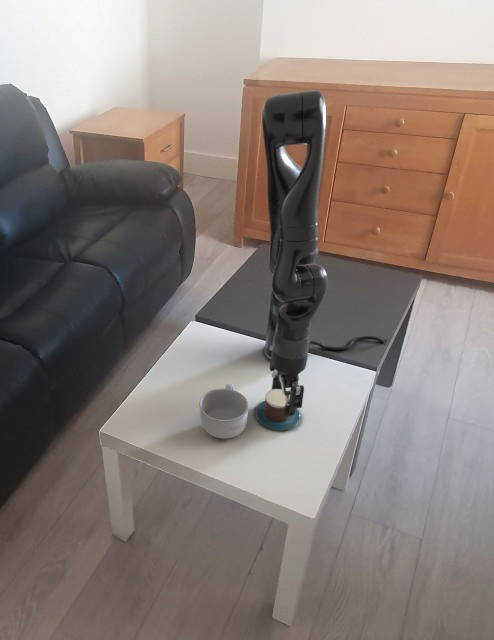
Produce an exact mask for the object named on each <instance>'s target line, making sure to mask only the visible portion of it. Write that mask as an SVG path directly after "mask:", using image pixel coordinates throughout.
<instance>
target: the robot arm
mask: <svg viewBox="0 0 494 640" xmlns="http://www.w3.org/2000/svg"><path fill="white" fill-rule="evenodd" d="M261 125H262V126H261V129H262V136H263V144H264V152H265V153H264V154H265V160H266V161H265V162H266V171H267V172H266V173H267V175H266V177H267V179H266V180H267V183H266V184H267V186H266V187H267V188H266V189H267V191H266V192H267V194H266V195H267V211H268V220H269V248H268V268H269V271H270V272H271V274H272V277H271V278H272V279H271V289H272V290H271V295H270V303H269V312H268V321H267V329H266V337H265V345H264V355H265V357H266V358H267V359H268V360H270V362H269V371H270V372H272V373H271V378H272V384H271V390H273V389H281V390H282V393H283V395H285V400H286V404H285V411H284V414H285V416H286V417H288V416H294V415H295V409H296V408H297V409H302V407H303V401H304V400H303V399H304V393H305V392H304V391H305V386H304V385H303V384H301V385H300V384H299V380H300V378H299V374H301V373H302V372H303V371H305V369H306V367H307V363H308V357H309V352H310V347H311V345H316V346H318V347H320V348H322V349H325V350H329V351H346V350H348V349H350V348H351V347H352V346H353V345H354V343H356V342H358V341H363V340H374V341H378V342H379V343H381V344H386V342H385V340H384V339H383V338H381V337H380V336H379V337H378V336H375V335H363V336H357V337H354V338H352V339H351V340H350V341H349V343H348V344H347V345H345V346H331V345H325V344H323V343H322V342H320V341H317V340H311V330H312V325H313V319H314V316H316V314H317V311H318V309H319V307H321V306H320V305H321V304H322V302H323V300H324V298H325V296H326V293H327V290H328V286H329V279H328V274H327V271H326V270H325V268H324V267H323V266H322V265H320V264H319V263H318V258H319V247H318V245H319V237H318V236H319V213H318V212H319V209H318V208H319V196H320V189H321V180H322V173H323V162H324V154H325V153H324V152H325V142H326V130H327V129H326V127H327V107H326V100H325V95H324V94H323V92H322V91H321V90H320V89H312V90H311V89H310V90H303V91H296V92H289V93H288V92H287V93H281V94H276V95H272V96H269V97H267V99H265V101H264V103H263V105H262V111H261ZM298 145H299V146H300V145H306V151H305V158H304V161H303V165H302V166H300V165H299V164H298V163H297V162H296V161H295V160H294V159H293V158H292V157H291V156H290V155H289V153H288V152H287V150H286V147H291V146H298ZM287 389H289V390H287ZM289 395H290V400H289Z"/></svg>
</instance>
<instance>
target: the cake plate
mask: <svg viewBox="0 0 494 640" xmlns="http://www.w3.org/2000/svg"><path fill="white" fill-rule="evenodd" d="M264 404H265V400H264V401H262V402H260V403H259V404H258V405H257V407H256V408H255V417H256V420H257V421H258V422H259V423H260V424H261V425H262V426H263V427H265V428H267V429H270V430H272V431H278V432H285V431H291V430H292V429H295V428H296V427H297V426H298V424H299V423H300V421H301V413H300V411H299V408H296V409H295V415H294V416H290V417H289V419H288V420H286V421H284V422H274V421H271V420H269V419H267V418H266V417H265V415H264Z"/></svg>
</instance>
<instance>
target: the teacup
mask: <svg viewBox="0 0 494 640" xmlns="http://www.w3.org/2000/svg"><path fill="white" fill-rule="evenodd" d="M198 403H199V404H198V405H199V410H200V411H199V414H200V415H199V417H200V422H201V425H202V427H203V429H204V430H205V431H206V432H207V434H209V435H210V436H212V437H215V438H217V439H232V438H235V437H237V436H239V435H241V433H243V431H244V430H245V428H246V426H247V422H248V415H249V414H248V413H249V412H248V411H249V401H248V399H247V398H246V397H245V396H244V395H243V394H242V393H241V392H238V391H237V390H234V384H233V383H230V382H228V383H226V385H225V388H216V389H212V390H209V391H207V392H206V393H204V394H203V395H202V396H201V398H200V399H199V402H198Z"/></svg>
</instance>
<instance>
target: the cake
mask: <svg viewBox="0 0 494 640" xmlns="http://www.w3.org/2000/svg"><path fill="white" fill-rule="evenodd" d="M264 396H265V397H264V401H265V404H264V415H265V417H266V418H267V419H269V420H271V421H274V422H284V421H286V420H288V419H289V417H290V416H288V417H286V416H285V414H284V411H285V404H286V400H285V395H283V393H282V390H281V389H273V390H272V389H270V390H268V391H267V392H266V394H265V395H264ZM289 400H290V395H289Z"/></svg>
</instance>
